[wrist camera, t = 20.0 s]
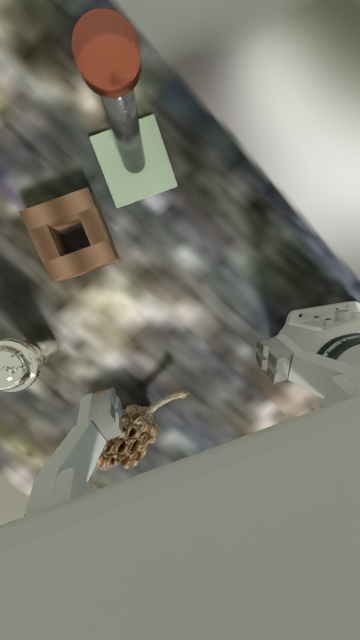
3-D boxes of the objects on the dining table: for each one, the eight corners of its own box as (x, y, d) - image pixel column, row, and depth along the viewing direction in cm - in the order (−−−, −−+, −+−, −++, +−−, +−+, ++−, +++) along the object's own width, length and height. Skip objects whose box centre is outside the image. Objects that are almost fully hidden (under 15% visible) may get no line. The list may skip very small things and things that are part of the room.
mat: (154, 117, 37) (153, 113, 36) (176, 186, 39) (177, 184, 38) (90, 140, 37) (89, 136, 36) (117, 208, 39) (116, 206, 38)
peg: (151, 141, 37) (137, 9, 20) (152, 180, 38) (141, 85, 21) (114, 141, 37) (68, 6, 19) (117, 180, 37) (74, 84, 20)
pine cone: (126, 455, 47) (116, 499, 37) (93, 429, 45) (74, 467, 36) (196, 388, 46) (204, 416, 36) (164, 359, 44) (164, 379, 34)
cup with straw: (18, 334, 41) (-118, 376, 22) (61, 320, 41) (-33, 349, 22) (35, 372, 43) (-77, 445, 23) (77, 359, 43) (2, 419, 23)
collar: (95, 197, 38) (87, 187, 35) (120, 260, 40) (115, 257, 36) (34, 219, 38) (19, 211, 34) (62, 281, 40) (51, 280, 36)
